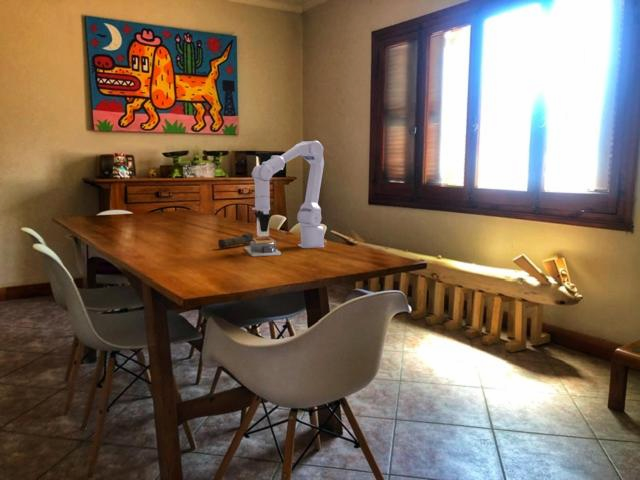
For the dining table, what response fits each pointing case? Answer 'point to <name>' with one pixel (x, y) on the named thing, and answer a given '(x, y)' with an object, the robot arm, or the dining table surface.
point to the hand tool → (236, 241)
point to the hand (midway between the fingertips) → (262, 230)
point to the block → (260, 230)
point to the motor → (262, 247)
